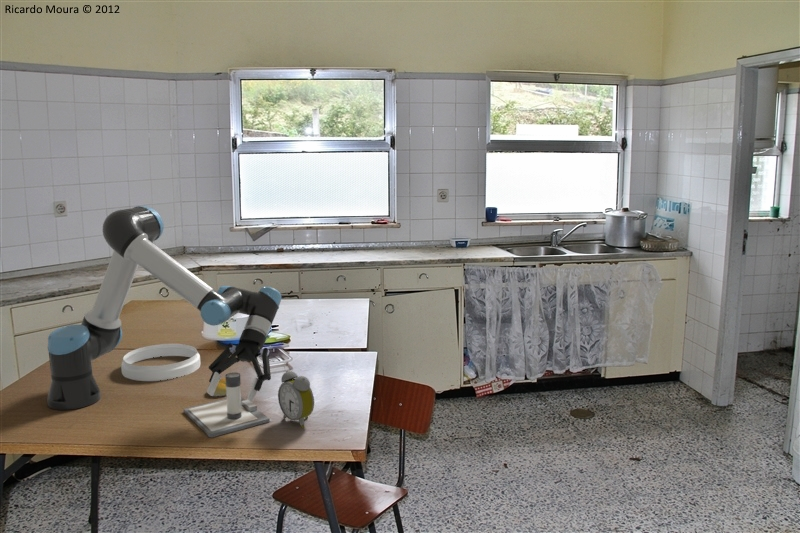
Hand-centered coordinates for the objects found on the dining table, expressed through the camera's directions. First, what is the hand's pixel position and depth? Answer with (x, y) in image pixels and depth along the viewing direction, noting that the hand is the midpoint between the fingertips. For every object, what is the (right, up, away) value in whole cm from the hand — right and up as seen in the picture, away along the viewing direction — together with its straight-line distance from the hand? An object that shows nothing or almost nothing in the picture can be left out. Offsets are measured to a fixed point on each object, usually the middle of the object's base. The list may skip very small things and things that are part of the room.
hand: (229, 397), depth 191 cm
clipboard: (-3, -7, +6) cm, 10 cm away
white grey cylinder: (+1, -6, +3) cm, 7 cm away
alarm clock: (+20, -8, +3) cm, 22 cm away
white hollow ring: (-37, +1, +48) cm, 61 cm away
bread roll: (-9, -4, +26) cm, 28 cm away
